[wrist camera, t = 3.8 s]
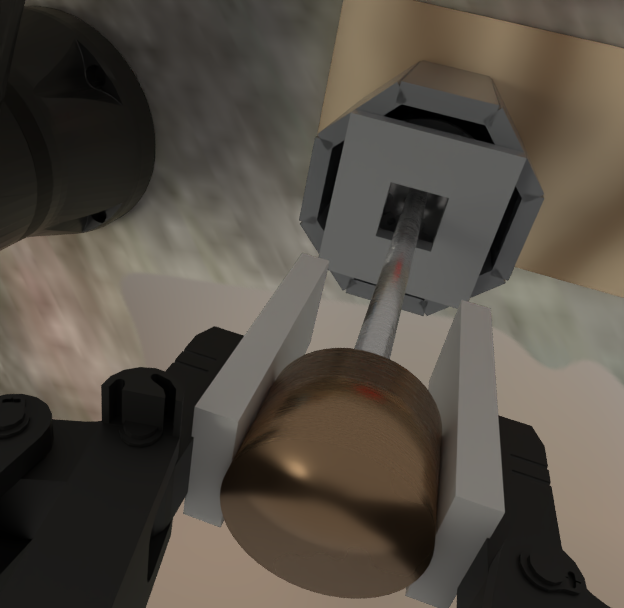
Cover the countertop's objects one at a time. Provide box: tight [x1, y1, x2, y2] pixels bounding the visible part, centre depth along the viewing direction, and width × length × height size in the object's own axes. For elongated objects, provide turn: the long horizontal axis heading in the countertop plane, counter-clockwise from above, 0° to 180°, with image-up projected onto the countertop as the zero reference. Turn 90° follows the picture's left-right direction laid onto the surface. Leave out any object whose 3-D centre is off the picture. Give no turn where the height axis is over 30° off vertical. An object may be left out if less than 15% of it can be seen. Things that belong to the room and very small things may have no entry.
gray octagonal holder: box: [299, 60, 544, 316], centre depth 28 cm, size 10×12×12 cm
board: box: [317, 0, 624, 298], centre depth 32 cm, size 22×13×1 cm, turn 78°
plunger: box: [220, 117, 474, 598], centre depth 17 cm, size 7×7×20 cm
